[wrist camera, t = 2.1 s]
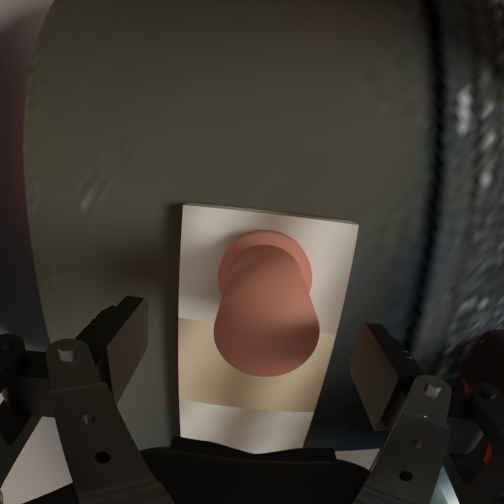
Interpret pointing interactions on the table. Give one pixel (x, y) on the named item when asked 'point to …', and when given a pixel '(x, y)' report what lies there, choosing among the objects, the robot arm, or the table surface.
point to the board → (204, 315)
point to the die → (358, 456)
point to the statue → (484, 374)
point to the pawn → (265, 305)
